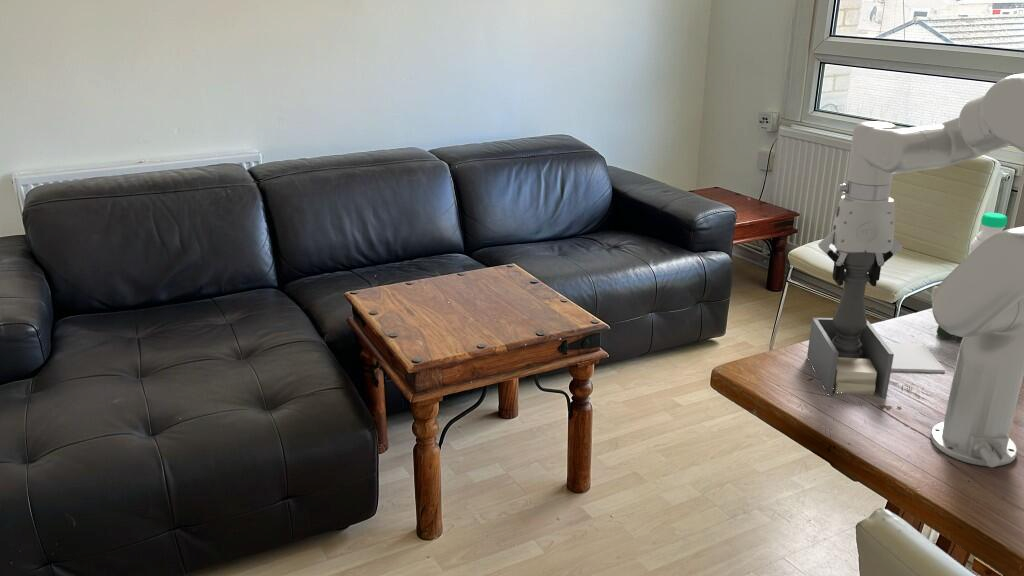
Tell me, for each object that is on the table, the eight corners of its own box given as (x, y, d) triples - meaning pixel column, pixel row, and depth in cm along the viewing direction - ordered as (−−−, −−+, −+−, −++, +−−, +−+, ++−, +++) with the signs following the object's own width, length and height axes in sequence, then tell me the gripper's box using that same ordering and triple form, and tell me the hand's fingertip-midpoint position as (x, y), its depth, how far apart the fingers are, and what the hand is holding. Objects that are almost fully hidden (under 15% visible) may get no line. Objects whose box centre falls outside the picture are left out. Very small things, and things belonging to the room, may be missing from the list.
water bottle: (998, 324, 181) (1022, 217, 172) (974, 330, 179) (998, 221, 170) (970, 313, 187) (992, 208, 178) (948, 318, 185) (969, 212, 176)
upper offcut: (875, 385, 152) (877, 373, 151) (835, 382, 153) (837, 370, 152) (867, 370, 158) (869, 359, 157) (829, 368, 159) (831, 356, 158)
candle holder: (865, 372, 158) (883, 250, 150) (833, 372, 158) (849, 250, 150) (853, 358, 164) (870, 240, 155) (822, 358, 164) (837, 240, 155)
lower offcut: (873, 396, 153) (875, 384, 152) (835, 395, 154) (836, 383, 153) (864, 381, 159) (866, 370, 158) (827, 380, 159) (828, 369, 158)
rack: (886, 397, 152) (893, 354, 148) (827, 395, 153) (834, 352, 149) (860, 359, 166) (866, 318, 163) (807, 357, 167) (812, 317, 164)
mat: (944, 372, 160) (945, 369, 160) (881, 370, 162) (882, 368, 161) (922, 346, 172) (922, 343, 171) (863, 344, 173) (863, 342, 172)
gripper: (824, 195, 146) (813, 289, 153) (924, 196, 145) (908, 291, 151) (814, 185, 153) (804, 276, 159) (908, 186, 151) (894, 277, 158)
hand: (855, 282), depth 155 cm, fingers closed on candle holder, 5 cm apart
